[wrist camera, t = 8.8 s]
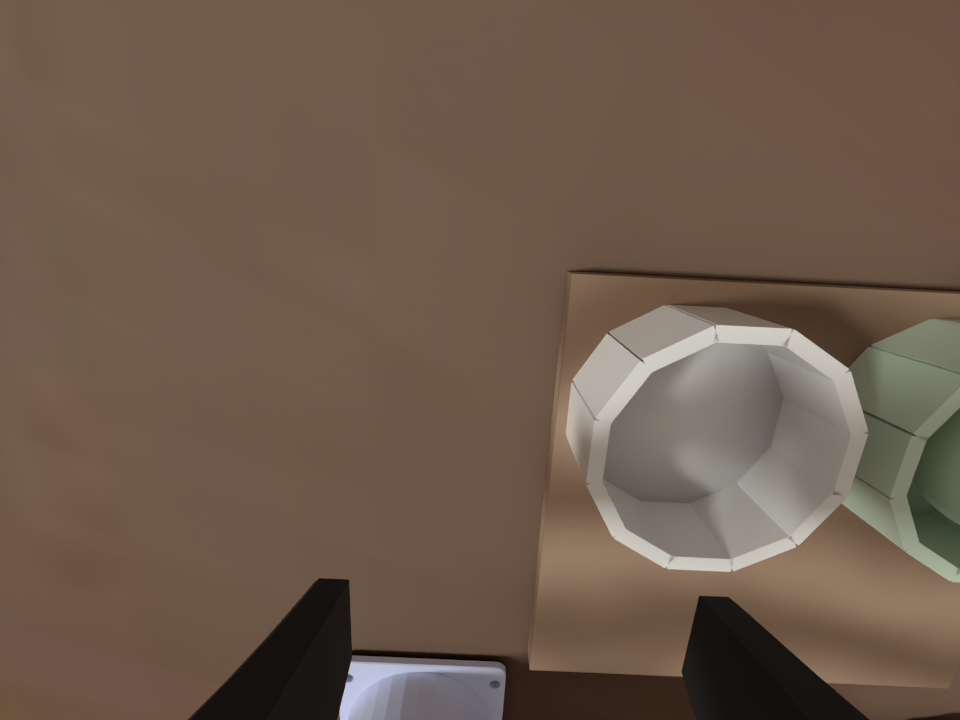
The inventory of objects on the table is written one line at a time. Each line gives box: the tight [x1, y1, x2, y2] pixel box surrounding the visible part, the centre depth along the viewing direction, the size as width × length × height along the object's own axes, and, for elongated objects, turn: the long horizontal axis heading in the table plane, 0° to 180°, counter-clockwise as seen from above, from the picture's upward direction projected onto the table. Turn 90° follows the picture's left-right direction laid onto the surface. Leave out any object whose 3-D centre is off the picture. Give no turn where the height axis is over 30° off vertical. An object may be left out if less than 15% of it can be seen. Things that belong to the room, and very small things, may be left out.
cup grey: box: [566, 305, 868, 572], centre depth 15 cm, size 8×8×4 cm
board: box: [528, 271, 960, 688], centre depth 19 cm, size 18×20×1 cm
